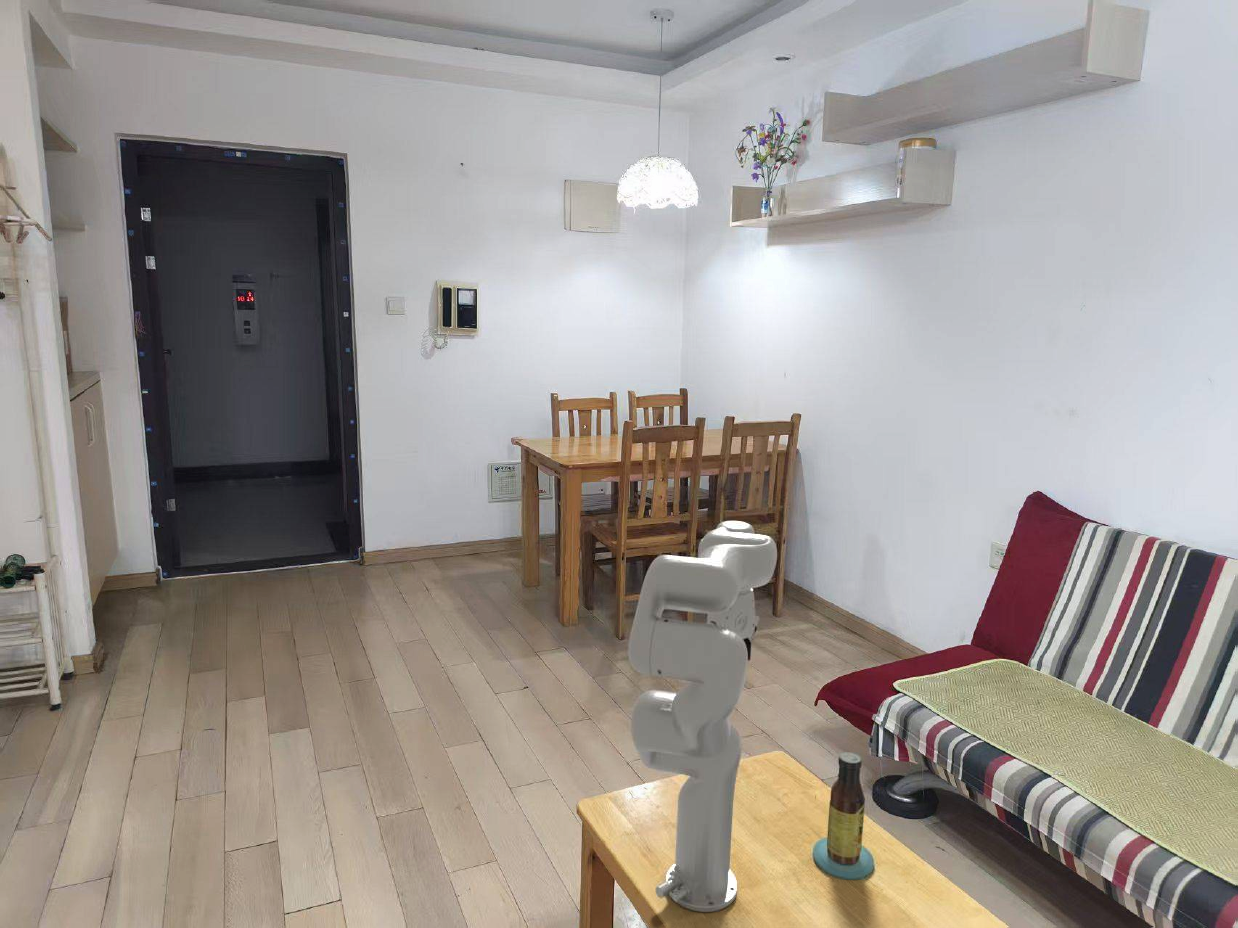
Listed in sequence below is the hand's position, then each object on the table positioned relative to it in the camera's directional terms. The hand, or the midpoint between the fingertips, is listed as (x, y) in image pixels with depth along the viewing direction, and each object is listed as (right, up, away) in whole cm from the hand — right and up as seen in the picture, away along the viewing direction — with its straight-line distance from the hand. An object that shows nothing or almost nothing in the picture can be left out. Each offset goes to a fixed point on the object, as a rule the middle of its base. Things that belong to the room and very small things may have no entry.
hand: (727, 664), depth 162 cm
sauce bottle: (+20, -33, -12) cm, 40 cm away
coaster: (+20, -34, -11) cm, 41 cm away
